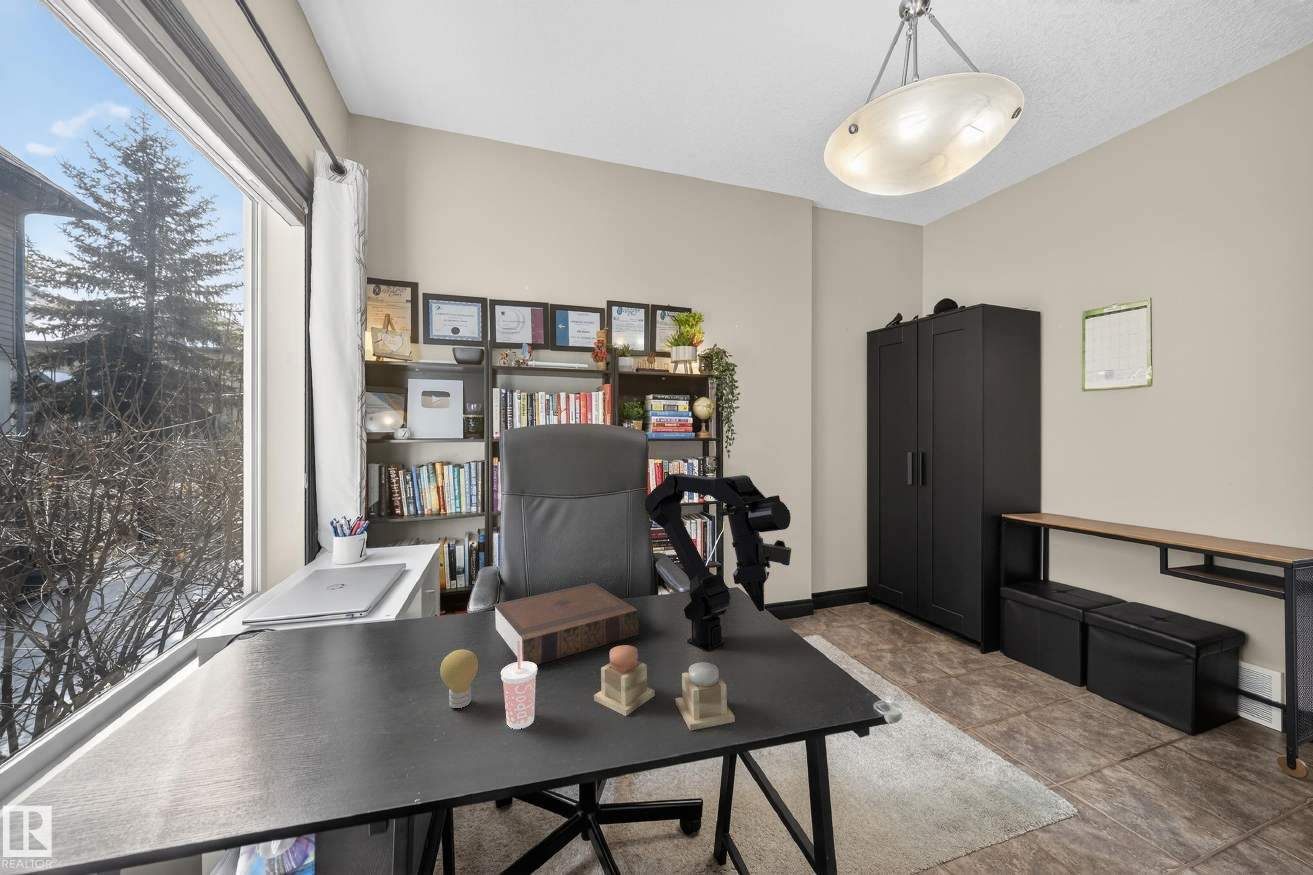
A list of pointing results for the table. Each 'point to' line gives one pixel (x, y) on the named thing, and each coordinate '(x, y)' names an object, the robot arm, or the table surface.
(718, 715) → the beige square socket
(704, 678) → the light grey rounded piece
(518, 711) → the beverage cup
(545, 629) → the book
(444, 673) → the light bulb
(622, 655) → the terracotta plunger
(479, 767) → the table surface
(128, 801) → the table surface
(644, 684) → the cream square holder
